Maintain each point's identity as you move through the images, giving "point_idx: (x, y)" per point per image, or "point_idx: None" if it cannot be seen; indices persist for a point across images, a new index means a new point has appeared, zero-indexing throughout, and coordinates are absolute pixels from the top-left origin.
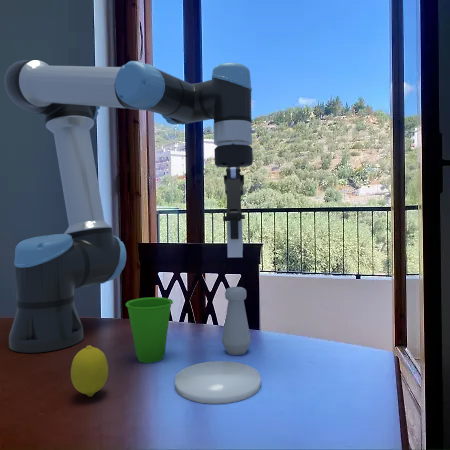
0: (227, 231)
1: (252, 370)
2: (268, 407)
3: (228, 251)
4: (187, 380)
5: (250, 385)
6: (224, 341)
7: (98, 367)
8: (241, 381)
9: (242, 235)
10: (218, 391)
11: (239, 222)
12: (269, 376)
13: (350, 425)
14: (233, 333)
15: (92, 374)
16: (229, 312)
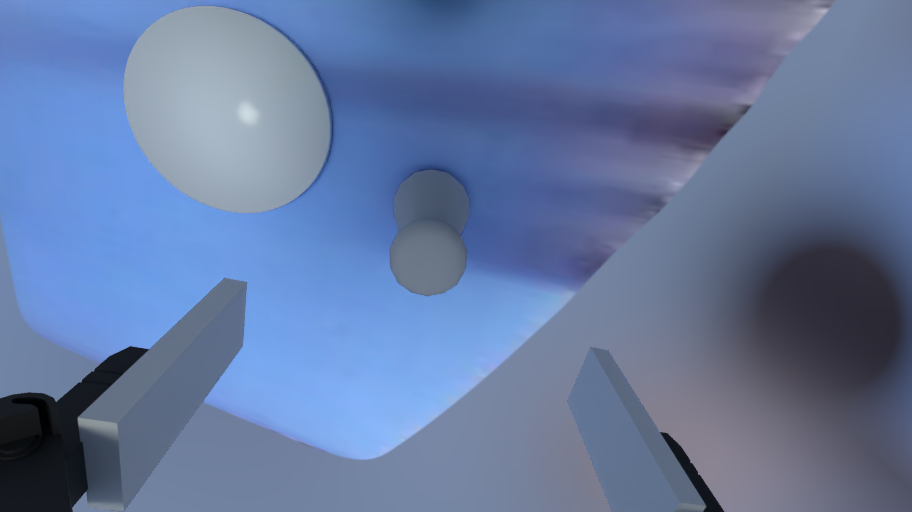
0: (135, 366)
1: (262, 203)
2: (127, 194)
3: (208, 297)
4: (208, 39)
5: (180, 180)
6: (414, 173)
7: None
8: (200, 166)
9: (593, 464)
10: (145, 106)
11: (92, 488)
12: (271, 233)
13: (73, 297)
14: (397, 202)
15: None
16: (414, 212)
